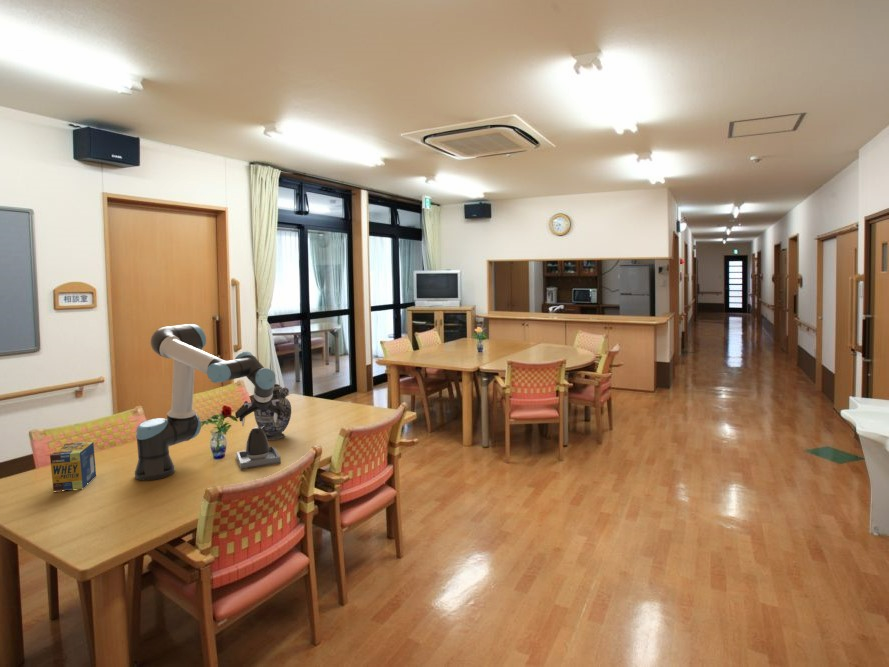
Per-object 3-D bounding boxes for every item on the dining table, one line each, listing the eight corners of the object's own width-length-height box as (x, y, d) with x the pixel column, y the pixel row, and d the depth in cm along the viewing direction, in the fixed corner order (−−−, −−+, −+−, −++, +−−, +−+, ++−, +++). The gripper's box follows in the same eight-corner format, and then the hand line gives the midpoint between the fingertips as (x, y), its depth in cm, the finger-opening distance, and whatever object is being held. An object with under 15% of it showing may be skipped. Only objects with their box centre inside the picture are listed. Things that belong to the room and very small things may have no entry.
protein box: (52, 493, 209) (49, 455, 207) (69, 478, 223) (65, 443, 222) (83, 490, 211) (79, 452, 210) (97, 475, 226) (94, 441, 224)
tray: (280, 463, 239) (280, 456, 239) (241, 469, 232) (240, 463, 231) (274, 452, 254) (273, 446, 254) (236, 458, 247) (236, 451, 246)
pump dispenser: (274, 456, 245) (273, 425, 244) (258, 464, 236) (256, 431, 234) (258, 453, 250) (256, 422, 248) (241, 461, 240) (239, 428, 238)
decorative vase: (245, 440, 273) (243, 387, 270) (269, 430, 290) (268, 380, 287) (278, 444, 265) (276, 390, 262) (301, 434, 282) (300, 383, 279)
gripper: (231, 406, 211) (229, 432, 226) (295, 400, 222) (289, 425, 237) (229, 391, 215) (227, 417, 230) (292, 385, 226) (286, 411, 241)
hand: (258, 421), depth 233 cm, fingers open, 13 cm apart
